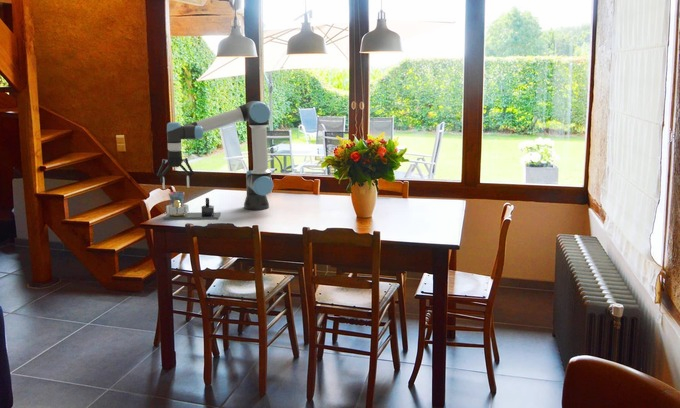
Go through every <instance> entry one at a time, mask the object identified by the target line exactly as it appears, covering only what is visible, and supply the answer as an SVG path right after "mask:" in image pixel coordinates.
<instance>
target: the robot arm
mask: <svg viewBox="0 0 680 408" xmlns="http://www.w3.org/2000/svg"><path fill="white" fill-rule="evenodd" d="M270 117H271V109H270V107H269V105H267V104H266V103H265V102H263V101H258V100H251V101H249V102H247V103H244V104H241V105H237V107H236V108H234V109H231V110H228V111H225V112H221V113H219V114H216V115H212V116H209V117H207V118H202V119H199V120H196V121H194V122H193V121H192V122H190V123H189V122H188V123H185V124H184V125H181V122H178V121H177V122H176V121H173V122H171V121H170V122H168V123H166V138H167V150H168V151H167V159H165V158H163V159H161V165H160V167H159V169H158V172H157V173H156V176H157V177H159V178H160V179H159V180H160V184H162V189H163V190H166V189H165V188H166V185H165V180H166V179H165V176H166V174H167V172H168V171H169V170H170V169H171V168H181V169H182V170H183V171H184V173H186V174H187V175H186V187H187V188H188V189H189V188H190V182H191V181H192V176H193V175H195V172H194V171H193V168H192V167H191V166H190V163H189V159H188V158H186V157H185V158H183V154H182V153H183V152H182V150H183V149H182V147H183V146H182V140H202V139H203V137H204V133H207V132H211V131H214V130H216V129H217V130H218V129H220V128H223V127H226V126H230V125H232V124H235V123H239V122H242V123H245V122H248V126H249V127H250V128H251V143H252V144H251V145H252V165H253V168H252V170H247V171H246V175H245V178H246V184H245V185H246V196H245V200H244V203H243V208H244V210H250V211H251V210H252V211H258V210H260V211H261V210H266V209H269V208H270V204H269V200H268V197H267V195H269V194H270V193H271V192H272V191H273V189H274V182H273V179H272V170H270V169H269V159H268V158H269V157H268V156H269V155H268V154H269V153H268V137H267V136H268V135H267V133H268V131H267V128H268V127H269V125H270ZM167 163H168V164H167ZM182 163H184V164H186V165H185V166H187V168H188V170H189V171H188V170H187V168H186V167H184V165H183V164H182ZM166 164H167V166H166V167H165V165H166ZM164 167H165V169H164Z"/></svg>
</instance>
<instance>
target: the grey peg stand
mask: <svg viewBox="0 0 680 408" xmlns="http://www.w3.org/2000/svg"><path fill="white" fill-rule="evenodd" d="M174 207H180V201H179V200H175V201H174ZM214 209H215V206H214V205H210V197H205V205H202V206H201V212H187V213H183V214H169V213H167V212H166V214H165V216H164V217H163V220H171V221H172V220H219V219H220V216H221V214H222V213H221V212H219V211H218V212H217V211H216V212H215V210H214Z"/></svg>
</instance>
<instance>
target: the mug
mask: <svg viewBox="0 0 680 408" xmlns="http://www.w3.org/2000/svg"><path fill="white" fill-rule="evenodd" d="M167 194H168V196H169V198H170V199H169V200H170V204H174V201H175V200H179V201H180V204H183V202H184V200H185V196H186V195H185V192H184V191H170V192H168V193H167Z"/></svg>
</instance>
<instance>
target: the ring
mask: <svg viewBox="0 0 680 408" xmlns="http://www.w3.org/2000/svg"><path fill="white" fill-rule="evenodd" d="M165 208H166V214H167V213H169V214H183V213H190V211H189V204H186V203H182V204H180V207H174V204H171V203H170V204H168V205H166V207H165Z"/></svg>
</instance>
